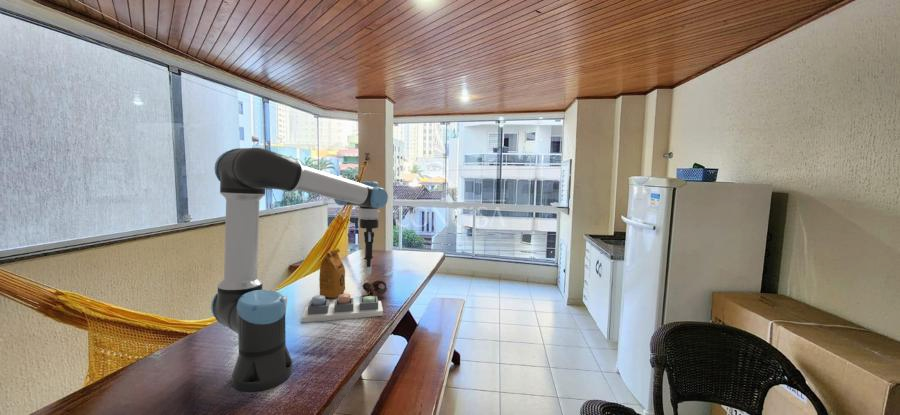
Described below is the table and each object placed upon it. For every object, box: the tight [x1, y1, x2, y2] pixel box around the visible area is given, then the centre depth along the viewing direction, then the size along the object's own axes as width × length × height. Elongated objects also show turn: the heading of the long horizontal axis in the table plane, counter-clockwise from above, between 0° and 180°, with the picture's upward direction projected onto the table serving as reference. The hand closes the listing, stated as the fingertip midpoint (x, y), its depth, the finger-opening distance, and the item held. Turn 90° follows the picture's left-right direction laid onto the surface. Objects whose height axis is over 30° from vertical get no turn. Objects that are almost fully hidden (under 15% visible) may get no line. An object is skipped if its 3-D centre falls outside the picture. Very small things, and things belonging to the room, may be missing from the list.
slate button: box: [311, 294, 326, 306], centre depth 139 cm, size 5×5×3 cm
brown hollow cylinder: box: [362, 279, 388, 297], centre depth 165 cm, size 12×10×8 cm
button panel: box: [301, 296, 384, 323], centre depth 142 cm, size 31×12×5 cm, turn 106°
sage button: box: [362, 295, 375, 303], centre depth 145 cm, size 5×5×3 cm
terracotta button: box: [337, 293, 352, 304], centre depth 142 cm, size 5×5×3 cm
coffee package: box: [318, 248, 346, 299], centre depth 163 cm, size 10×12×22 cm
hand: (368, 273), depth 143 cm, fingers closed
